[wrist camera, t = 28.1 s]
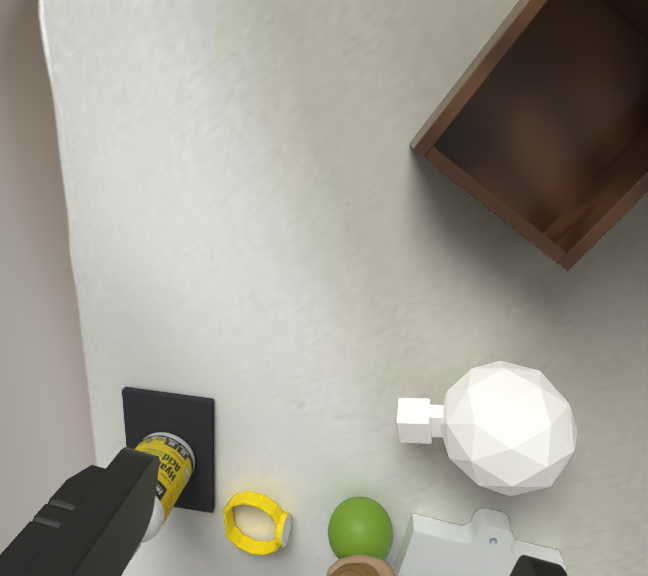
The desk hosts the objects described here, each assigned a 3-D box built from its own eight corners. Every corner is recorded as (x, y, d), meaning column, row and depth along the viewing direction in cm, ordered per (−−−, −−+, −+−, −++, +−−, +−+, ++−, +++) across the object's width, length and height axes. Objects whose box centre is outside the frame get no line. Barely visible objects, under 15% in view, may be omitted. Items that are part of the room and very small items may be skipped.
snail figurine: (410, 525, 43) (417, 668, 32) (341, 535, 44) (325, 675, 33) (394, 476, 41) (397, 609, 30) (324, 487, 43) (301, 618, 32)
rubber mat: (125, 386, 42) (121, 390, 41) (213, 398, 41) (211, 402, 41) (133, 495, 46) (130, 500, 45) (214, 508, 45) (212, 513, 45)
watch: (234, 530, 47) (292, 545, 45) (221, 554, 44) (282, 570, 43) (231, 480, 45) (292, 493, 43) (217, 502, 42) (281, 517, 41)
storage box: (538, 247, 34) (567, 271, 28) (408, 144, 32) (412, 149, 27) (703, 74, 29) (776, 64, 24) (559, -52, 28) (601, -94, 22)
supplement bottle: (203, 442, 42) (151, 532, 33) (189, 487, 44) (136, 584, 35) (145, 421, 42) (77, 504, 33) (134, 467, 44) (67, 558, 35)
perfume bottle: (569, 334, 33) (396, 337, 37) (602, 448, 26) (385, 439, 30) (560, 414, 38) (409, 410, 42) (586, 528, 31) (401, 512, 35)
